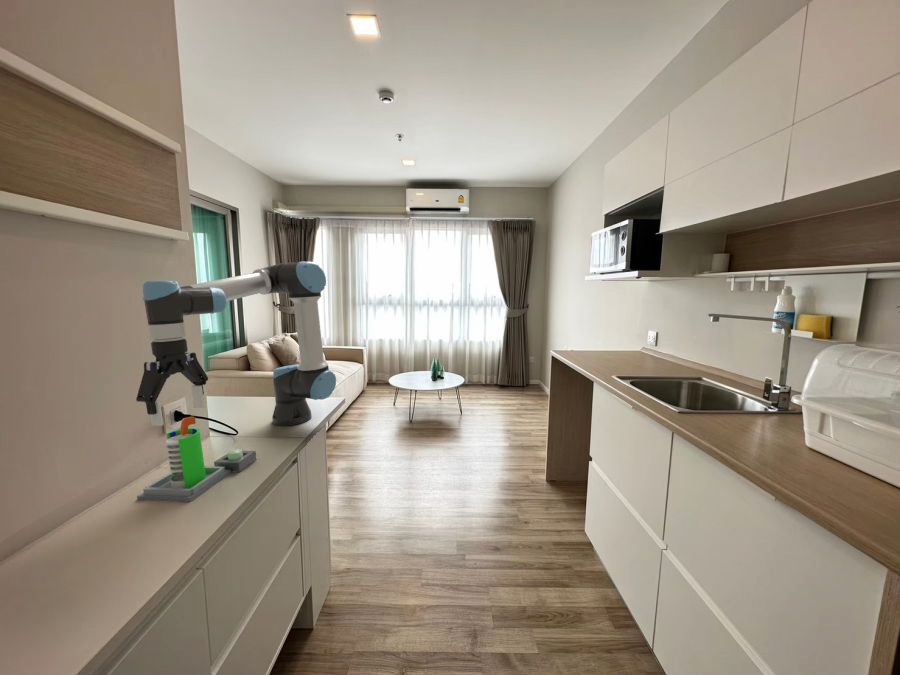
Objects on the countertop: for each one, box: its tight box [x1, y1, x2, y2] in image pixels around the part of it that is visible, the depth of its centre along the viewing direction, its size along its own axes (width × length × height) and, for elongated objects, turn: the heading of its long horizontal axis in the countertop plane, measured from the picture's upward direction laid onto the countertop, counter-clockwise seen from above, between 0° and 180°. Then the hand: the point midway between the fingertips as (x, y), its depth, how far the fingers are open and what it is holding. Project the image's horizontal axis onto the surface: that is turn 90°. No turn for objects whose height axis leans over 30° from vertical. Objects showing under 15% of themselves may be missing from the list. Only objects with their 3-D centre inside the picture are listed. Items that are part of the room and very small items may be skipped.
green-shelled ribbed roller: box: [165, 416, 206, 489], centre depth 100 cm, size 9×8×18 cm
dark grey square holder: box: [213, 450, 257, 473], centre depth 112 cm, size 8×8×3 cm
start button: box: [227, 448, 244, 460], centre depth 112 cm, size 4×4×4 cm
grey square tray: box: [136, 465, 232, 503], centre depth 101 cm, size 15×15×2 cm
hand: (179, 415), depth 99 cm, fingers open, 13 cm apart
